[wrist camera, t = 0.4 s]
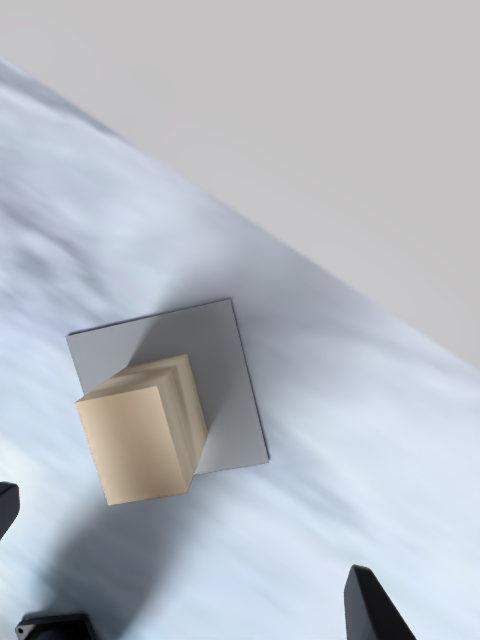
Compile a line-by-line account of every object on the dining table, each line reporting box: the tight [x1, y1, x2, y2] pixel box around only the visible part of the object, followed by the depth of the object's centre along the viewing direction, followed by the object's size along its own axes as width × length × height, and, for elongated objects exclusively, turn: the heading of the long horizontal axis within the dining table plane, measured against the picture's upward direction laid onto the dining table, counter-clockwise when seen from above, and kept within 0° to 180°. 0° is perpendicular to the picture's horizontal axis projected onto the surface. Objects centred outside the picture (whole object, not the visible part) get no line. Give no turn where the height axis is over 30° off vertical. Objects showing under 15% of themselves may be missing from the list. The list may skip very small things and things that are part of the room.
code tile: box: [66, 299, 269, 475], centre depth 22 cm, size 12×12×1 cm
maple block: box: [75, 354, 208, 505], centre depth 19 cm, size 4×6×6 cm
